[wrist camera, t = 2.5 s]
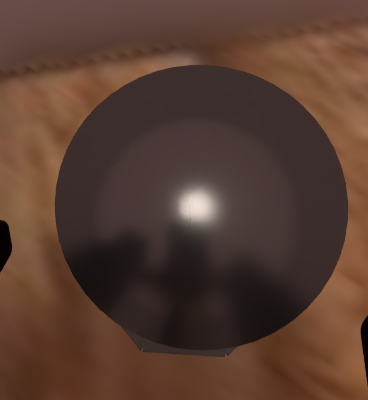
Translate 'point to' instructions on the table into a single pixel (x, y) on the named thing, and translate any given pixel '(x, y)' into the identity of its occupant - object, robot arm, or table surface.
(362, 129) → the table surface
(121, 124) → the dark glossy cylinder
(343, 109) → the table surface
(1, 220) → the robot arm
